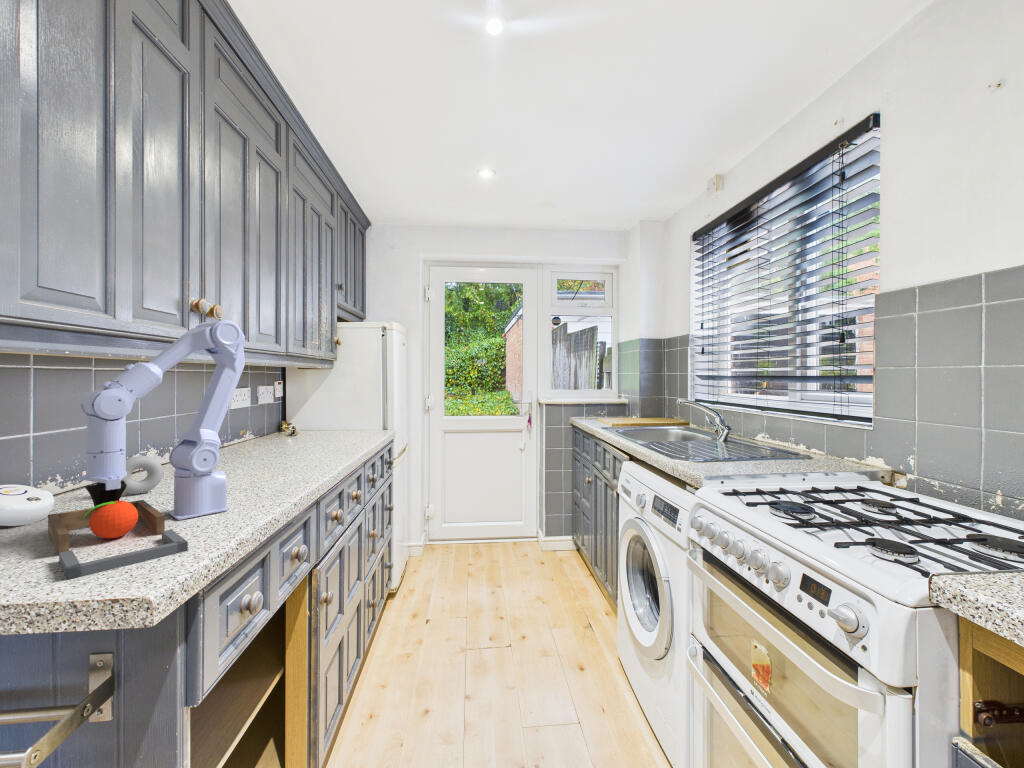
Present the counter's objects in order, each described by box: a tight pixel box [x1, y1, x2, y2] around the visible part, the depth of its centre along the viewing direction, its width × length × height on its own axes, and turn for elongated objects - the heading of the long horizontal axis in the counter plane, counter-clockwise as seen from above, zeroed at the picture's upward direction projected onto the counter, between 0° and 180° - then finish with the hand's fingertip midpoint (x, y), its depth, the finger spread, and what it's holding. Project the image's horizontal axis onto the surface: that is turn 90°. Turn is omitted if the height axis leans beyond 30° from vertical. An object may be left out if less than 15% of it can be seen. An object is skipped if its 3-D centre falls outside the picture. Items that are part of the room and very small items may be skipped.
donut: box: [122, 455, 164, 495], centre depth 115 cm, size 10×4×10 cm, turn 138°
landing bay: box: [58, 529, 189, 580], centre depth 75 cm, size 15×10×2 cm, turn 141°
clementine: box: [83, 500, 139, 540], centre depth 83 cm, size 8×7×7 cm
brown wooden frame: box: [47, 499, 166, 555], centre depth 86 cm, size 14×17×4 cm
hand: (106, 520), depth 86 cm, fingers closed
